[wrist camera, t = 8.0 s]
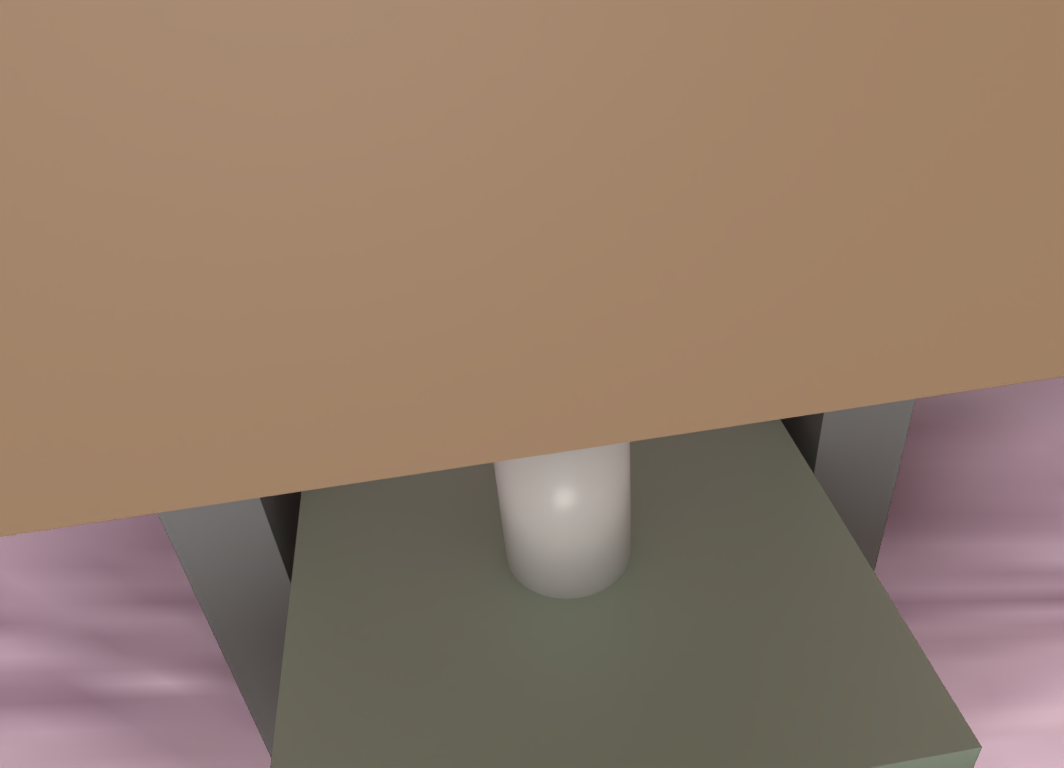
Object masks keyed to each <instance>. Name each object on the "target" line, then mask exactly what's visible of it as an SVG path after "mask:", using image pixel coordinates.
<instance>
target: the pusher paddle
mask: <svg viewBox="0 0 1064 768" xmlns="http://www.w3.org/2000/svg"><path fill="white" fill-rule="evenodd" d="M981 748H982V747H981V745H980V743H979V742H978V740H977V738H976V737H975V735H974V734H973V732H972V730H971V729H970V727H969V725H968V724H967V722H966V721H965V719H964V717H963V716H962V714H961V712H960V711H959V709H958V708H957V706H956V704H955V703H954V701H953V699H952V698H951V696H950V695H949V693H948V691H947V690H946V688H945V686H944V685H943V683H942V682H941V680H940V678H939V677H938V675H937V673H936V672H935V670H934V669H933V667H932V665H931V664H930V662H929V660H928V659H927V657H926V656H925V654H924V652H923V651H922V649H921V647H920V646H919V644H918V643H917V641H916V639H915V638H914V636H913V634H912V633H911V631H910V630H909V628H908V626H907V625H906V623H905V621H904V620H903V618H902V617H901V615H900V613H899V612H898V610H897V608H896V607H895V605H894V604H893V602H892V600H891V599H890V597H889V595H888V594H887V592H886V591H885V589H884V587H883V586H882V584H881V582H880V581H879V579H878V578H877V576H876V574H875V573H874V571H873V569H872V568H871V566H870V565H869V563H868V561H867V560H866V558H865V556H864V555H863V553H862V552H861V550H860V548H859V547H858V545H857V543H856V542H855V540H854V539H853V537H852V535H851V534H850V532H849V530H848V529H847V527H846V526H845V524H844V522H843V521H842V519H841V517H840V516H839V514H838V513H837V511H836V509H835V508H834V506H833V504H832V503H831V501H830V500H829V498H828V496H827V495H826V493H825V491H824V490H823V488H822V487H821V485H820V483H819V482H818V480H817V478H816V477H815V475H814V474H813V472H812V470H811V469H810V467H809V465H808V464H807V462H806V461H805V459H804V457H803V456H802V454H801V452H800V451H799V449H798V448H797V446H796V444H795V443H794V441H793V439H792V438H791V436H790V435H789V433H788V431H787V430H786V428H785V426H784V425H783V423H782V422H781V420H780V419H778V420H771V421H765V422H758V423H751V424H745V425H738V426H731V427H725V428H718V429H712V430H705V431H698V432H692V433H685V434H678V435H672V436H665V437H658V438H652V439H645V440H639V441H632V442H625V443H619V444H612V445H605V446H599V447H592V448H586V449H579V450H572V451H566V452H559V453H552V454H546V455H539V456H532V457H526V458H519V459H513V460H506V461H499V462H493V463H486V464H479V465H473V466H466V467H460V468H453V469H446V470H440V471H433V472H426V473H420V474H413V475H406V476H400V477H393V478H387V479H380V480H373V481H367V482H360V483H353V484H347V485H340V486H334V487H327V488H320V489H314V490H307V491H302V492H301V501H300V510H299V519H298V528H297V537H296V545H295V554H294V563H293V572H292V581H291V590H290V598H289V607H288V616H287V625H286V634H285V643H284V651H283V660H282V669H281V678H280V687H279V696H278V704H277V713H276V722H275V731H274V740H273V749H272V757H271V766H270V768H973V767H974V765H975V762H976V760H977V758H978V755H979V753H980V751H981Z"/></svg>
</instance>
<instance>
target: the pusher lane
mask: <svg viewBox="0 0 1064 768" xmlns="http://www.w3.org/2000/svg"><path fill="white" fill-rule="evenodd" d="M1063 376H1064V0H0V537H2V536H9V535H15V534H22V533H28V532H35V531H42V530H48V529H55V528H62V527H68V526H75V525H81V524H88V523H95V522H101V521H108V520H115V519H121V518H128V517H135V516H141V515H148V514H154V513H158V516H159V518H160V520H161V522H162V524H163V526H164V528H165V531H166V533H167V535H168V537H169V539H170V541H171V543H172V546H173V548H174V550H175V552H176V554H177V556H178V559H179V561H180V563H181V565H182V567H183V569H184V571H185V574H186V576H187V578H188V580H189V582H190V584H191V586H192V589H193V591H194V593H195V595H196V597H197V599H198V601H199V604H200V606H201V608H202V610H203V612H204V614H205V616H206V619H207V621H208V623H209V625H210V627H211V629H212V632H213V634H214V636H215V638H216V640H217V642H218V644H219V647H220V649H221V651H222V653H223V655H224V657H225V659H226V662H227V664H228V666H229V668H230V670H231V672H232V674H233V677H234V679H235V681H236V683H237V685H238V687H239V690H240V692H241V694H242V696H243V698H244V700H245V702H246V705H247V707H248V709H249V711H250V713H251V715H252V717H253V720H254V722H255V724H256V726H257V728H258V730H259V732H260V735H261V737H262V739H263V741H264V743H265V745H266V747H267V750H268V752H269V754H270V756H271V757H272V749H273V740H274V731H275V722H276V713H277V704H278V696H279V687H280V678H281V669H282V660H283V651H284V643H285V634H286V625H287V616H288V607H289V598H290V590H291V581H292V572H293V563H294V554H295V545H296V537H297V528H298V519H299V510H300V501H301V492H302V491H307V490H314V489H320V488H327V487H334V486H340V485H347V484H353V483H360V482H367V481H373V480H380V479H387V478H393V477H400V476H406V475H413V474H420V473H426V472H433V471H440V470H446V469H453V468H460V467H466V466H473V465H479V464H486V463H493V462H499V461H506V460H513V459H519V458H526V457H532V456H539V455H546V454H552V453H559V452H566V451H572V450H579V449H586V448H592V447H599V446H605V445H612V444H619V443H625V442H632V441H639V440H645V439H652V438H658V437H665V436H672V435H678V434H685V433H692V432H698V431H705V430H712V429H718V428H725V427H731V426H738V425H745V424H751V423H758V422H765V421H771V420H778V419H780V420H781V422H782V423H783V425H784V426H785V428H786V430H787V431H788V433H789V435H790V436H791V438H792V439H793V441H794V443H795V444H796V446H797V448H798V449H799V451H800V452H801V454H802V456H803V457H804V459H805V461H806V462H807V464H808V465H809V467H810V469H811V470H812V472H813V474H814V475H815V477H816V478H817V480H818V482H819V483H820V485H821V487H822V488H823V490H824V491H825V493H826V495H827V496H828V498H829V500H830V501H831V503H832V504H833V506H834V508H835V509H836V511H837V513H838V514H839V516H840V517H841V519H842V521H843V522H844V524H845V526H846V527H847V529H848V530H849V532H850V534H851V535H852V537H853V539H854V540H855V542H856V543H857V545H858V547H859V548H860V550H861V552H862V553H863V555H864V556H865V558H866V560H867V561H868V563H869V565H870V566H871V568H872V569H873V571H874V570H875V566H876V562H877V557H878V553H879V549H880V545H881V541H882V536H883V532H884V528H885V524H886V520H887V516H888V511H889V507H890V503H891V499H892V495H893V491H894V486H895V482H896V478H897V474H898V470H899V466H900V461H901V457H902V453H903V449H904V445H905V441H906V436H907V432H908V428H909V424H910V420H911V415H912V411H913V407H914V403H915V399H917V398H924V397H930V396H937V395H944V394H950V393H957V392H964V391H970V390H977V389H983V388H990V387H997V386H1003V385H1010V384H1017V383H1023V382H1030V381H1037V380H1043V379H1050V378H1056V377H1063Z"/></svg>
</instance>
